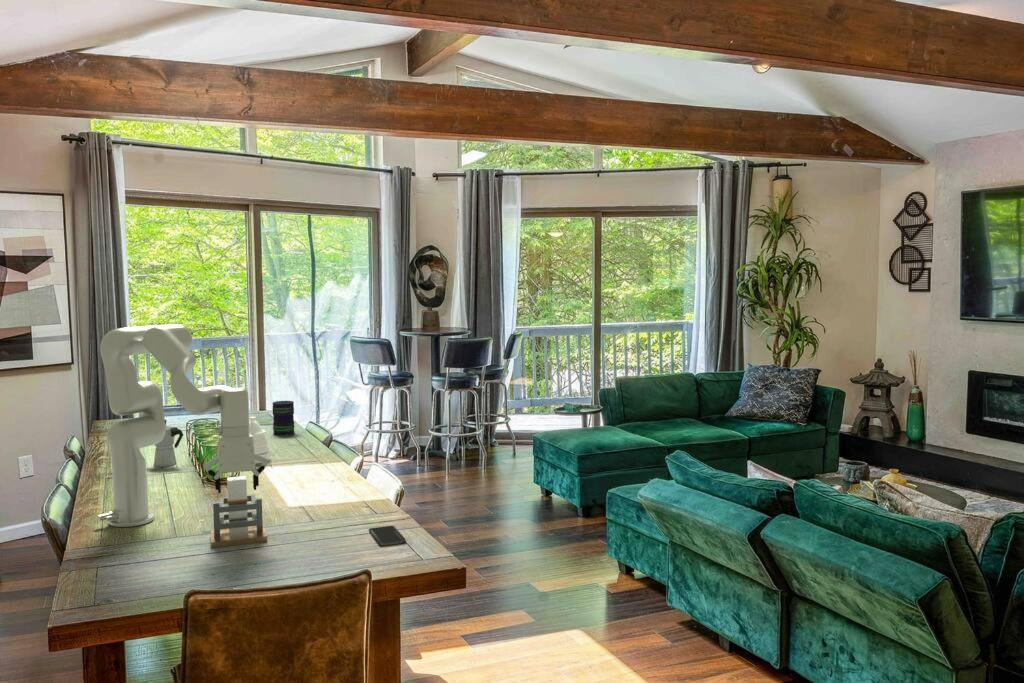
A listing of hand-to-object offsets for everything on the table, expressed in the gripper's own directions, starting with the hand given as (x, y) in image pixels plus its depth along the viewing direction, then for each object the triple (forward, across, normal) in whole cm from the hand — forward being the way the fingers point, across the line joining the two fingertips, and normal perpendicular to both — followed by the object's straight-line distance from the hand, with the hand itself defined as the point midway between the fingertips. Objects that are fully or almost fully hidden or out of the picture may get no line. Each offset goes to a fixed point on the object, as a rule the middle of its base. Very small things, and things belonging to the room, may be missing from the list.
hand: (237, 490), depth 233 cm
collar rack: (+14, 0, 0) cm, 14 cm away
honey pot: (+14, +9, +101) cm, 102 cm away
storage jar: (+14, +25, +153) cm, 156 cm away
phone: (+15, +40, -14) cm, 45 cm away
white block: (+13, 0, 0) cm, 13 cm away
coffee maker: (+14, -24, +105) cm, 109 cm away
